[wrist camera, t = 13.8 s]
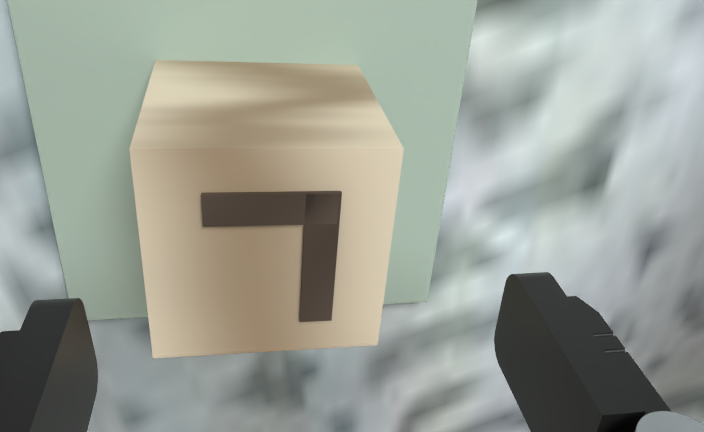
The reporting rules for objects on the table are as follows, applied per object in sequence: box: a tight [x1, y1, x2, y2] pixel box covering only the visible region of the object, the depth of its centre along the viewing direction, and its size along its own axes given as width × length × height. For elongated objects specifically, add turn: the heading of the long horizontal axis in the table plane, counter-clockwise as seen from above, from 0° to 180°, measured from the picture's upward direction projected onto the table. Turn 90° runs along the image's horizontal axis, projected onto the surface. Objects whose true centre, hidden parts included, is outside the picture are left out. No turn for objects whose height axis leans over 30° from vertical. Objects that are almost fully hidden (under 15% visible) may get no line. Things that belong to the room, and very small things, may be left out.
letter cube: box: [129, 60, 404, 358], centre depth 15 cm, size 5×5×5 cm
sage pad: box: [7, 0, 477, 320], centre depth 17 cm, size 11×11×1 cm
